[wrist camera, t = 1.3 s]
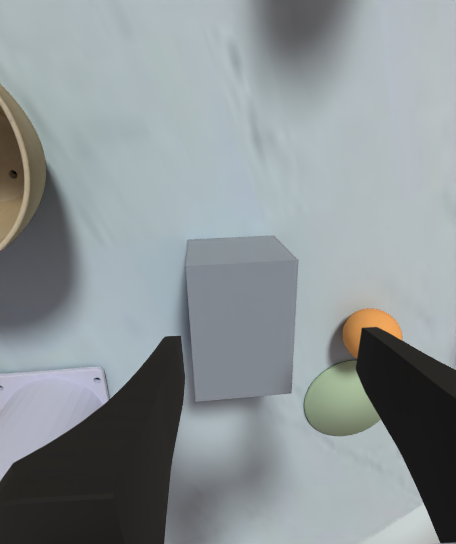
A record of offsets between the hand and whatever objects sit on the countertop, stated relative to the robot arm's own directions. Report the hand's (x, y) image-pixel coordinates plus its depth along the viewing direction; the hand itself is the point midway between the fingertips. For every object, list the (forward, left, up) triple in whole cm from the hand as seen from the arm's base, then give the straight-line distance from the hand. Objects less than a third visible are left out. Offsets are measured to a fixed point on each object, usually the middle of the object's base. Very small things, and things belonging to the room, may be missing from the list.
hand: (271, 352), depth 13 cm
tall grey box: (-2, 0, -11) cm, 11 cm away
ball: (-5, -10, -9) cm, 14 cm away
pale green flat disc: (-13, -10, -11) cm, 19 cm away
